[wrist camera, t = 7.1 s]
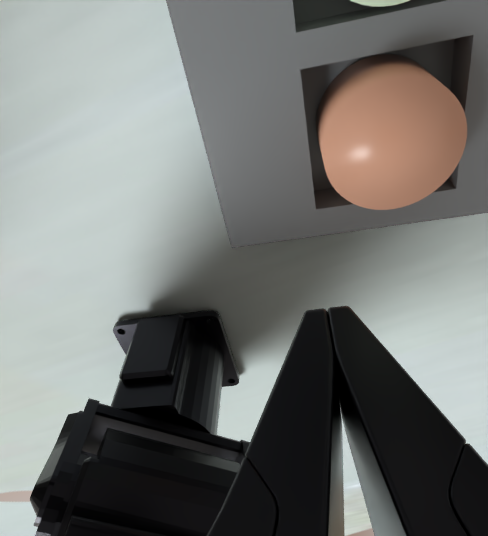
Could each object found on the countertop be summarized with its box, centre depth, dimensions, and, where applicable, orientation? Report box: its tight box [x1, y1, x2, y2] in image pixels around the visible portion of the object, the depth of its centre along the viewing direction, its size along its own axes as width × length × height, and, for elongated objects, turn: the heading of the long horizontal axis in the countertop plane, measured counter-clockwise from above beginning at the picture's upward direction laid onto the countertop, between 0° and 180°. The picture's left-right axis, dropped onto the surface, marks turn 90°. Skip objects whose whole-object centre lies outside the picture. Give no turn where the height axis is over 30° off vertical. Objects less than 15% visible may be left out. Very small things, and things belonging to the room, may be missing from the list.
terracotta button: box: [316, 54, 467, 210], centre depth 15 cm, size 5×5×3 cm
